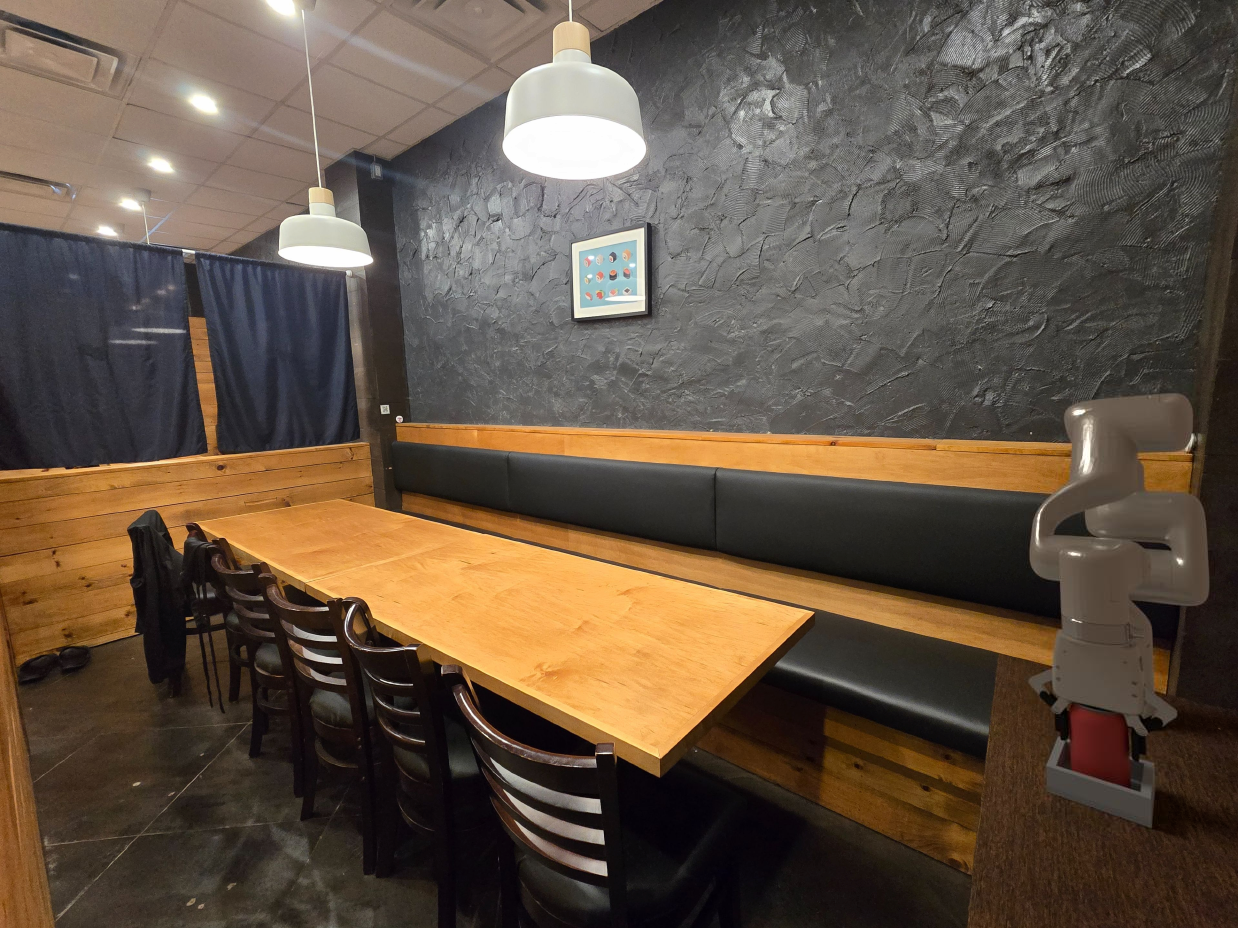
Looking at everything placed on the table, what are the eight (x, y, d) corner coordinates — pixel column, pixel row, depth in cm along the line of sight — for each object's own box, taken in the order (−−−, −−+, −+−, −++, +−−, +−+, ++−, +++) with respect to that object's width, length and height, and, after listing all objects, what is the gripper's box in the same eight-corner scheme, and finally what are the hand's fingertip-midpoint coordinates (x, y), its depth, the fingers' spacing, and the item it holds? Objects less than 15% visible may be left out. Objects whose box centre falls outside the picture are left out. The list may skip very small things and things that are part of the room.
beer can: (1143, 799, 74) (1139, 714, 74) (1090, 795, 75) (1086, 712, 75) (1110, 771, 81) (1106, 694, 81) (1061, 768, 82) (1057, 692, 82)
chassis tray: (1059, 760, 86) (1058, 736, 86) (1155, 789, 78) (1154, 762, 77) (1047, 791, 78) (1046, 765, 78) (1151, 828, 70) (1150, 798, 70)
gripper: (1180, 635, 74) (1185, 758, 74) (1026, 612, 86) (1031, 717, 87) (1180, 651, 69) (1185, 783, 69) (1016, 624, 81) (1021, 735, 82)
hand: (1099, 745), depth 78 cm, fingers open, 7 cm apart
